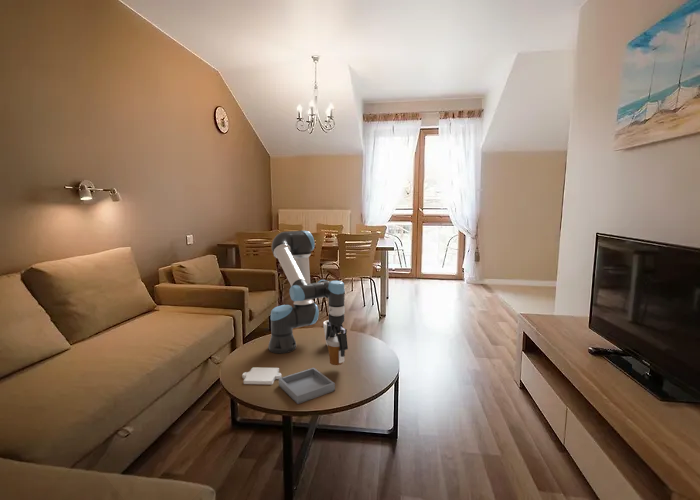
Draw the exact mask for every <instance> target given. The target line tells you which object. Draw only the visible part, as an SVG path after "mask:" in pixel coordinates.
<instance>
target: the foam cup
mask: <svg viewBox="0 0 700 500" xmlns="http://www.w3.org/2000/svg"><path fill="white" fill-rule="evenodd" d="M327 322H329V319H328V320H324V321H323V325H322V326H323V331H324V339H325V344H326V346H327V347H328V344H327V342H326V341H327V340H326V332H327ZM338 334H340V333H338ZM335 335H336V334H335Z"/></svg>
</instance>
